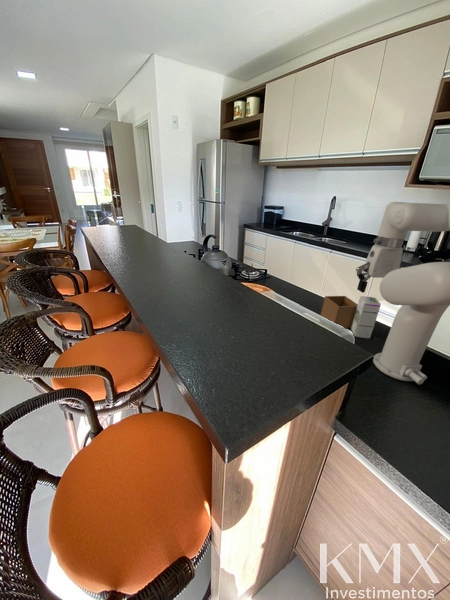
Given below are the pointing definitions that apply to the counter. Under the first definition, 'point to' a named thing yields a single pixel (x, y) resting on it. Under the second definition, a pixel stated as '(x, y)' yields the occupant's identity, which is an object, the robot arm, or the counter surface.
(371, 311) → the syrup box
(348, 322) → the brown open bin
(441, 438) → the counter surface
